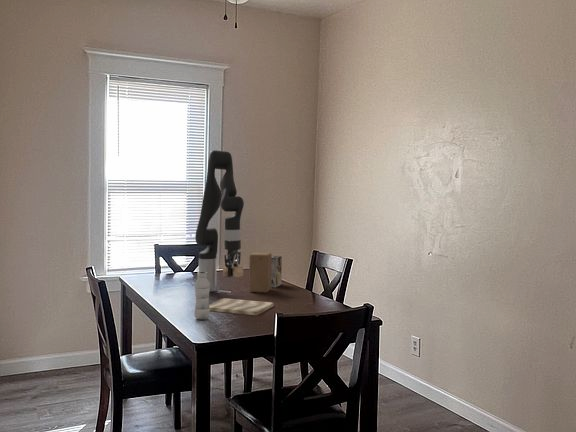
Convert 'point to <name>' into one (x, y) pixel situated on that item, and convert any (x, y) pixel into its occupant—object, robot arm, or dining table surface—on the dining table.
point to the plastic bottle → (202, 297)
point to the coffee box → (276, 271)
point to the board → (240, 306)
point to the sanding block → (236, 272)
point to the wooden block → (260, 272)
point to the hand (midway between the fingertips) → (232, 275)
